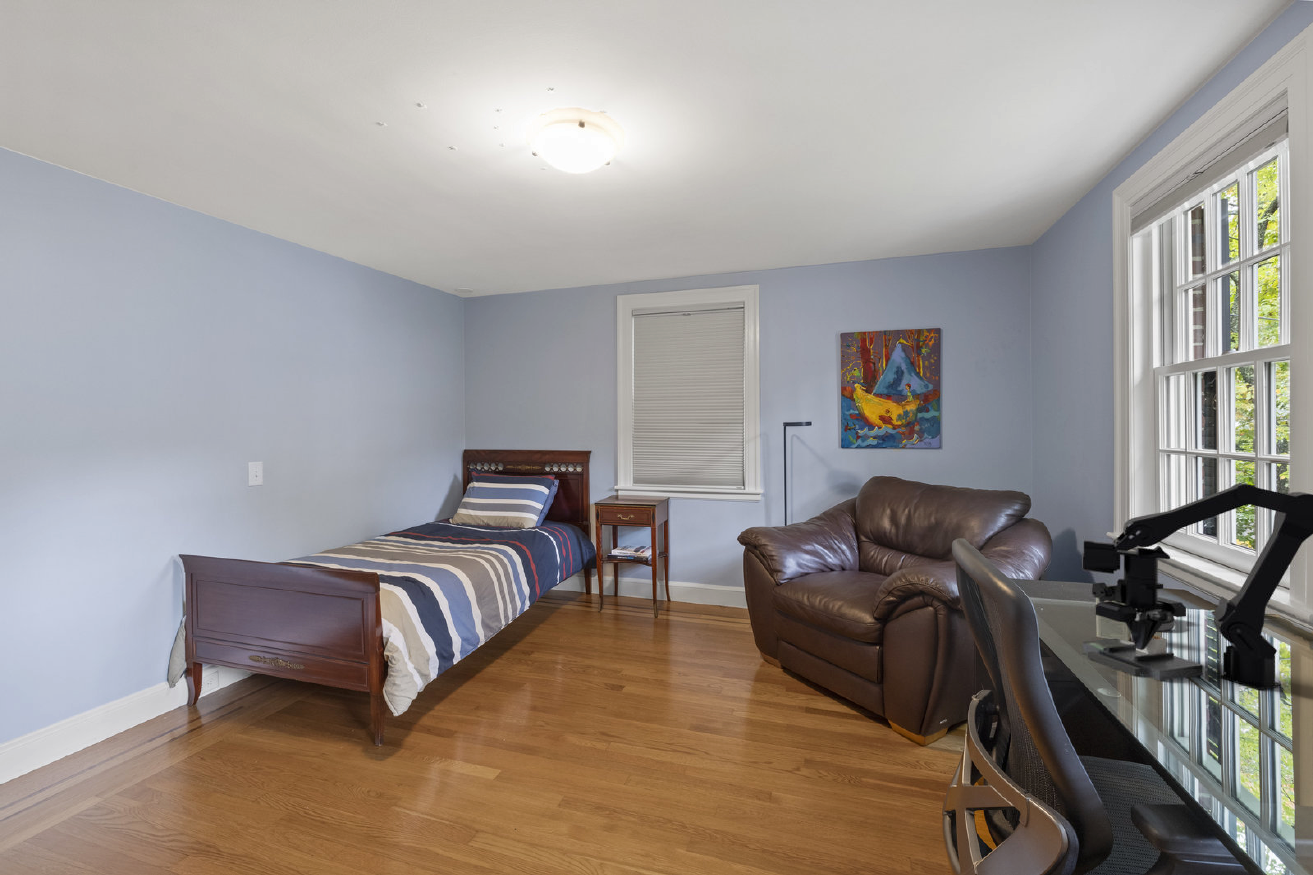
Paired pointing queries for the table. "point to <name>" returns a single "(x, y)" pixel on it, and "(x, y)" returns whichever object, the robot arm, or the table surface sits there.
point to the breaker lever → (1155, 646)
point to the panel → (1146, 660)
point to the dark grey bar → (1114, 663)
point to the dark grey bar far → (1100, 640)
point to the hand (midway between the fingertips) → (1140, 649)
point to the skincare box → (1111, 627)
